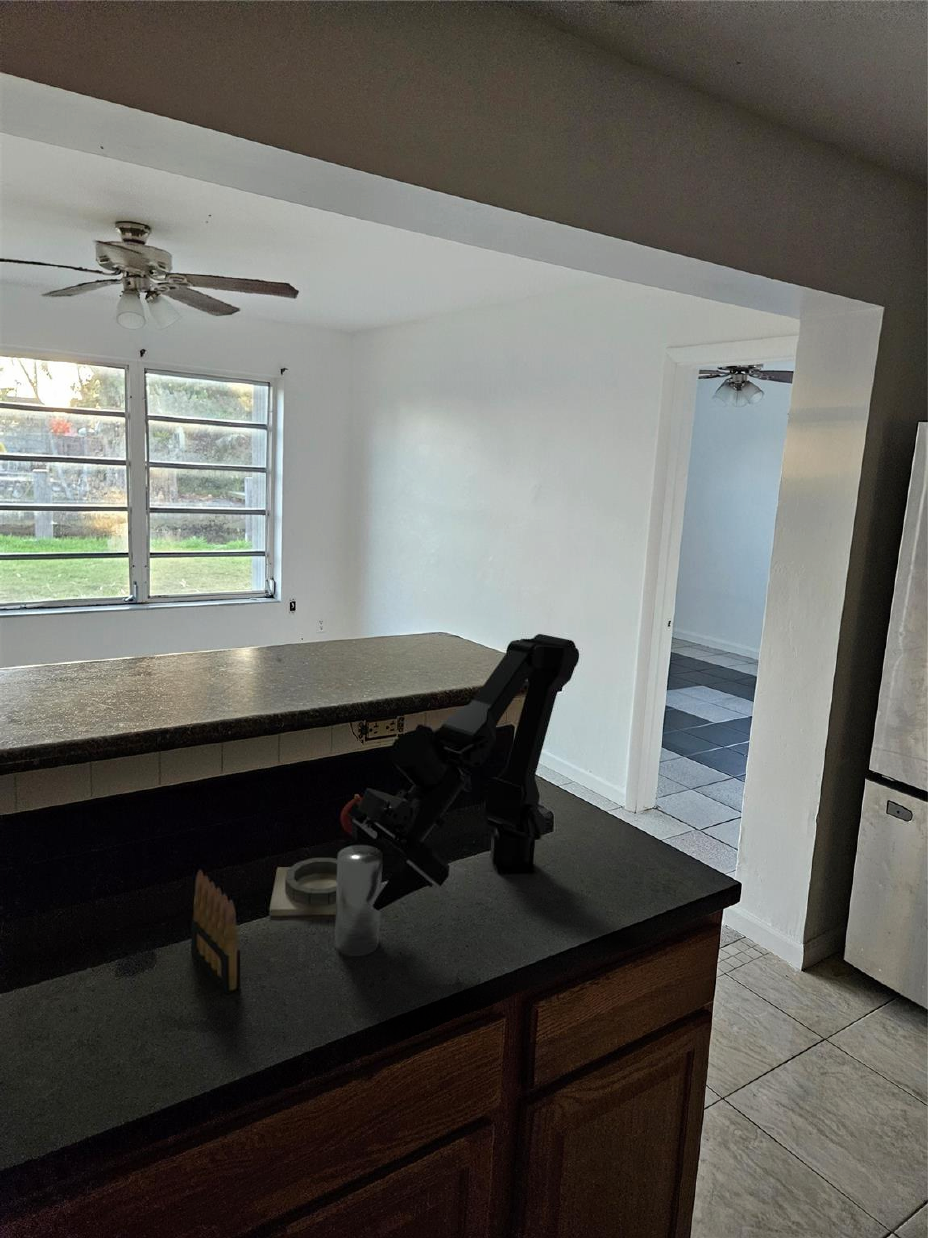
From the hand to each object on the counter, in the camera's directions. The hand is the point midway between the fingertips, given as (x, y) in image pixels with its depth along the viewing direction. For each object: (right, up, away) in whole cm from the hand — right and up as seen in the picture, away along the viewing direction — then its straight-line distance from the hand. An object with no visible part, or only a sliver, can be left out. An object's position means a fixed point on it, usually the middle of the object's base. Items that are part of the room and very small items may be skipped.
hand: (357, 892), depth 106 cm
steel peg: (0, -8, +2) cm, 8 cm away
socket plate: (-7, -5, +14) cm, 16 cm away
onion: (-4, -2, +32) cm, 32 cm away
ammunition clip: (-17, -8, -6) cm, 20 cm away
